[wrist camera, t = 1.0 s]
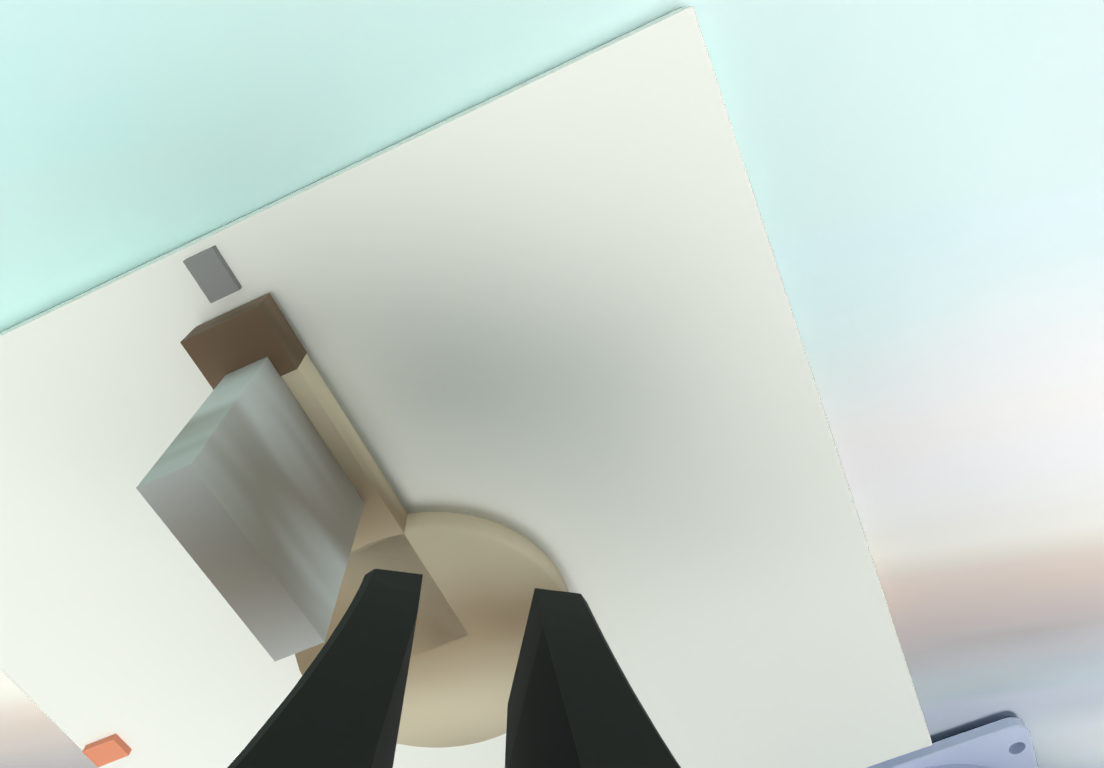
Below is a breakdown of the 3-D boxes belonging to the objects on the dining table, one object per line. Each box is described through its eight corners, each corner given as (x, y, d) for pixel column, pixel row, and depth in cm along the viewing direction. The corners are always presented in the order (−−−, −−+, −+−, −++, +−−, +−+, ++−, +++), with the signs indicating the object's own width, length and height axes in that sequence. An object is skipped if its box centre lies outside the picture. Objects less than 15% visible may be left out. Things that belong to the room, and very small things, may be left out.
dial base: (916, 718, 25) (935, 750, 24) (304, 930, 27) (295, 968, 26) (681, 6, 16) (694, 5, 15) (-192, 424, 18) (-236, 449, 17)
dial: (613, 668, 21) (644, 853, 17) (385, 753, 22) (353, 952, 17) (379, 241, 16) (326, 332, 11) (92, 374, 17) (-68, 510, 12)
